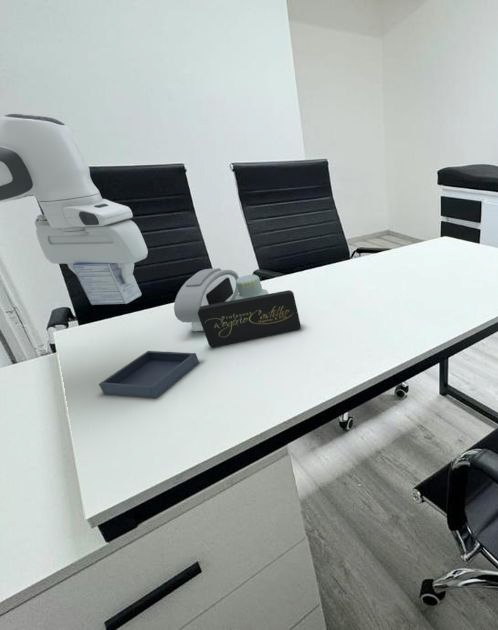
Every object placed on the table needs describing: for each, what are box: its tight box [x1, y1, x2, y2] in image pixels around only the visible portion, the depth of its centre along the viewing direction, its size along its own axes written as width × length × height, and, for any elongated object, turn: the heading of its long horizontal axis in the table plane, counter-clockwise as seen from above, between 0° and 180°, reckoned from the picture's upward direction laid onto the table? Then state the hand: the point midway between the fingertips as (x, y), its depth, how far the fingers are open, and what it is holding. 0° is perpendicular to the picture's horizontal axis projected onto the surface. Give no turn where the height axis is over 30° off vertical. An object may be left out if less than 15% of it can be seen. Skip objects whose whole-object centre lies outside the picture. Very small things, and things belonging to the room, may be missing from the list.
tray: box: [98, 350, 200, 399], centre depth 80 cm, size 12×12×2 cm
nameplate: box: [198, 289, 302, 348], centre depth 92 cm, size 21×2×10 cm, turn 110°
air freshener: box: [235, 274, 270, 300], centre depth 104 cm, size 11×8×10 cm
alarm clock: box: [173, 267, 240, 332], centre depth 103 cm, size 23×6×13 cm, turn 0°
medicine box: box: [72, 263, 142, 306], centre depth 77 cm, size 8×4×9 cm, turn 85°
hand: (109, 283), depth 77 cm, fingers closed on medicine box, 8 cm apart
